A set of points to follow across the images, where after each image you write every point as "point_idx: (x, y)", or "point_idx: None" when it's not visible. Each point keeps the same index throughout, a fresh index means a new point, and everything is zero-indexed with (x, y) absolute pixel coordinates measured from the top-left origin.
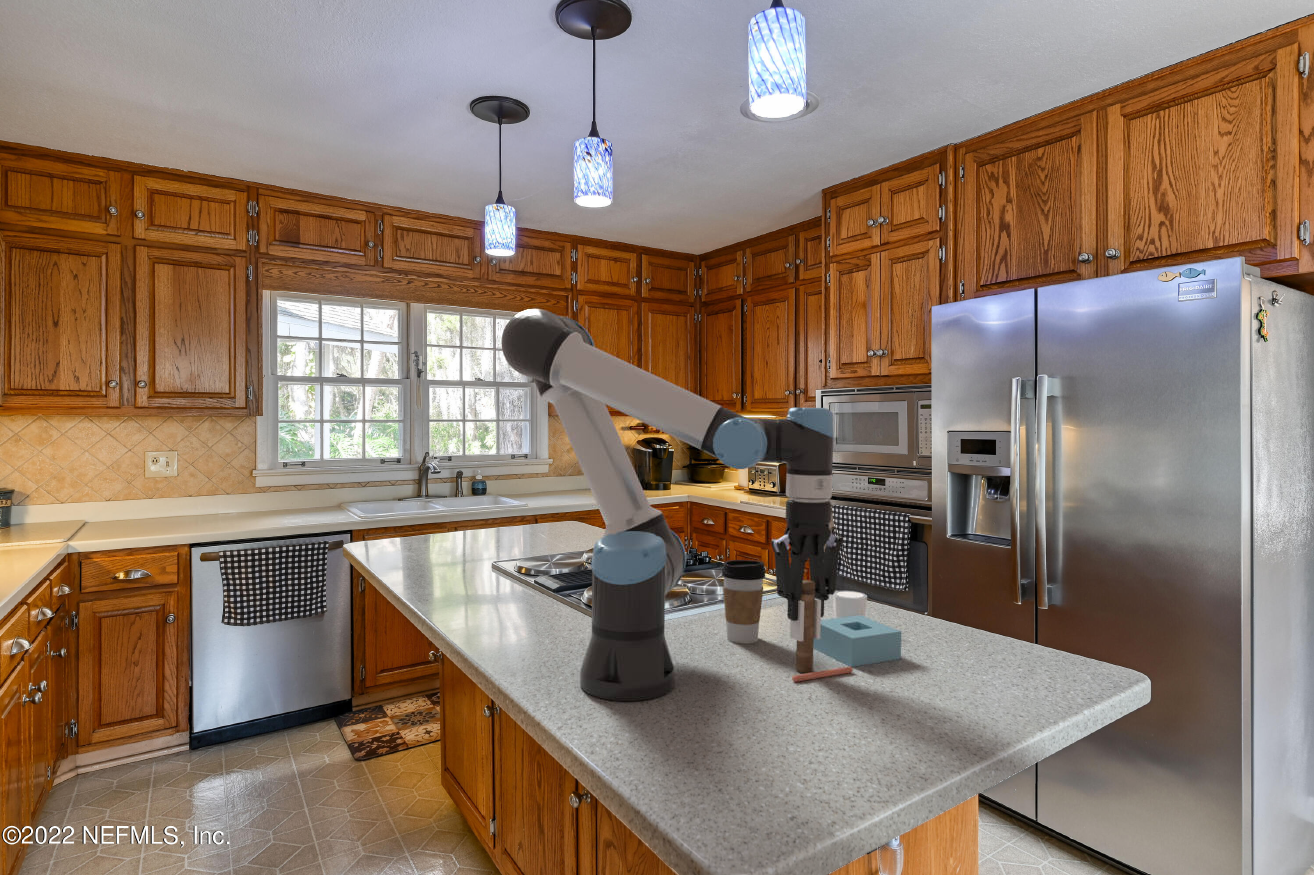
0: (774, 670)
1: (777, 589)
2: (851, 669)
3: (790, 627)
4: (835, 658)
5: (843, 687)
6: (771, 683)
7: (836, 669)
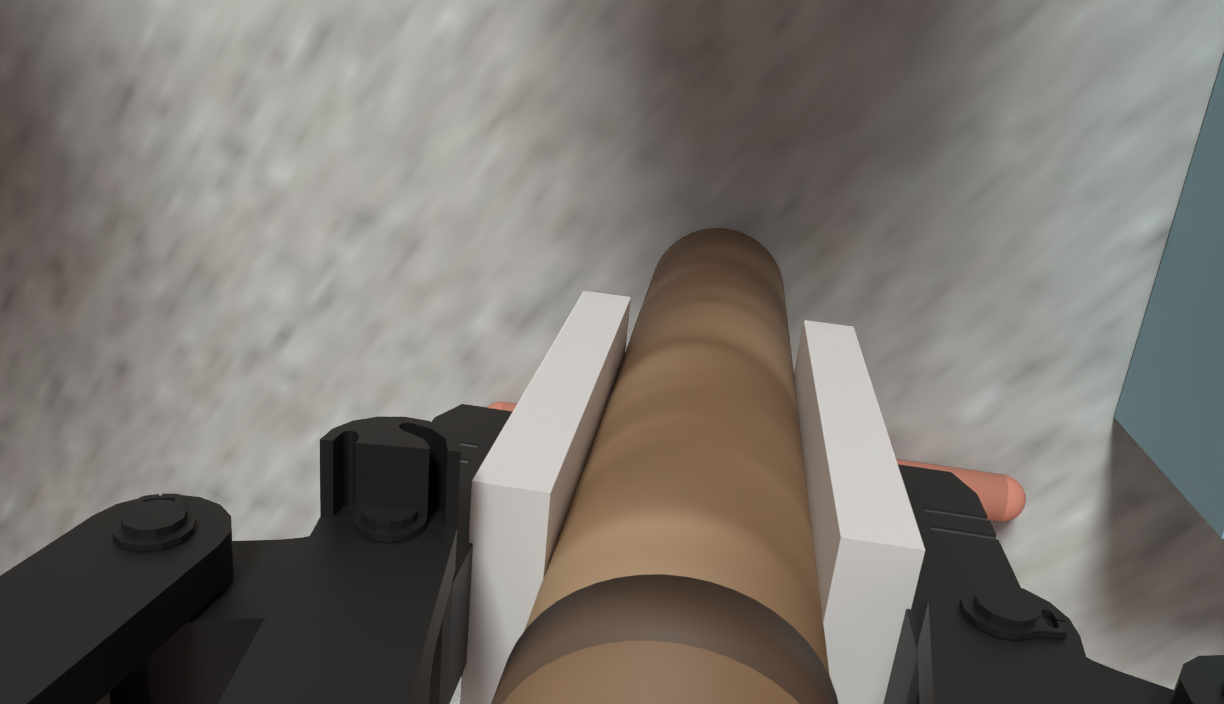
0: (513, 166)
1: (33, 571)
2: (997, 520)
3: (567, 319)
4: (1177, 218)
5: None
6: (344, 354)
7: None
